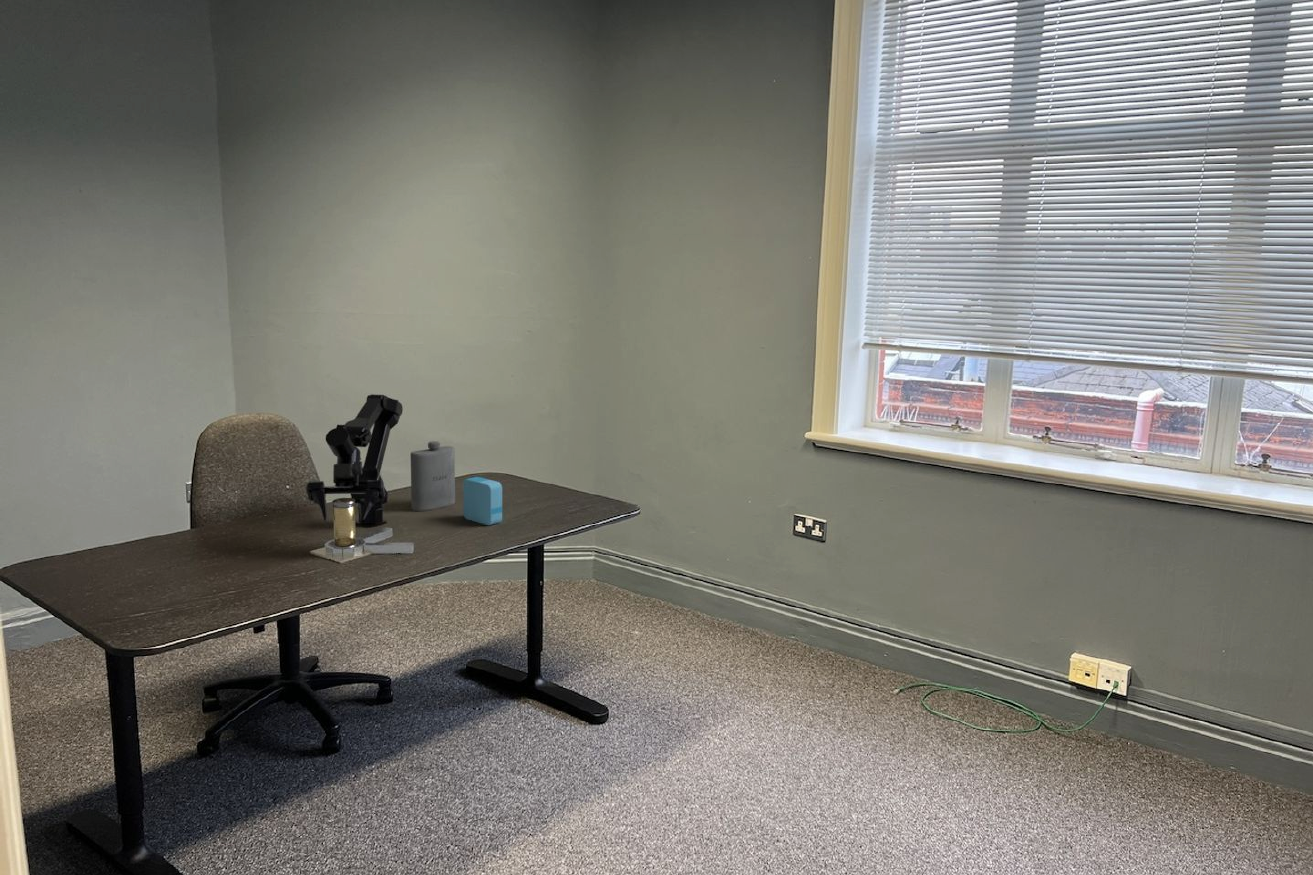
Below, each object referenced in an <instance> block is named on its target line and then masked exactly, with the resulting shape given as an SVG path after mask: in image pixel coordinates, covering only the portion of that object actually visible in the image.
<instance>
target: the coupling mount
mask: <svg viewBox="0 0 1313 875" xmlns="http://www.w3.org/2000/svg"><path fill="white" fill-rule="evenodd" d="M393 535H394V534H393V528H392V527H388V526H387V527H386V526H385V527H383V528H380V529H377V530H375V531H372V532H369V533H366V534H364V535H361V536H359V537H356V544H357V546H355V547H351V548H334V539H331V540H328V541H327V542H326V543H324V547H320V548H317V549H313V550H310V551H309V554H310V553H311V554H310V555H313V554H314V556H317V557H320V558H323V559H327V560H329V559H331V560H330V561H333V560H334V561H333V562H337V563H340V564H343V563H346V562H350V561H352V560H355V559H360V558H363V557H366V556H369V555H372V554H375V555H377V554H378V555H380V554H381V555H382V554H386V555H390V554H396V553H397V555H398V553H401V554H413V552H414V542H381V541H384V540H387V539H389V538H392V537H393ZM386 538H387V539H386ZM349 560H350V561H349Z"/></svg>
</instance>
